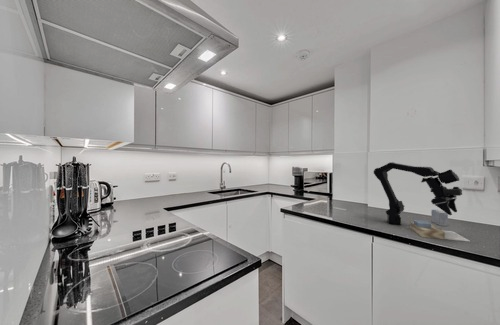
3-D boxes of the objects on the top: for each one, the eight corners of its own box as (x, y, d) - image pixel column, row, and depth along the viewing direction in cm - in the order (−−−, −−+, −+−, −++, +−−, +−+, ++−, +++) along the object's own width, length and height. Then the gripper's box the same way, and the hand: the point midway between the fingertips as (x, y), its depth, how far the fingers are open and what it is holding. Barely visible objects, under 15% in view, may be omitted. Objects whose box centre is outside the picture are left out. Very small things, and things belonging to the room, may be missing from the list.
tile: (418, 227, 111) (418, 223, 110) (413, 223, 116) (413, 219, 116) (431, 228, 108) (431, 224, 108) (425, 224, 114) (425, 220, 114)
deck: (421, 236, 107) (421, 229, 107) (410, 228, 120) (410, 221, 120) (444, 239, 103) (444, 231, 103) (430, 229, 116) (430, 223, 116)
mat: (445, 239, 103) (445, 238, 103) (431, 230, 116) (431, 229, 116) (470, 241, 100) (470, 241, 100) (453, 232, 113) (453, 231, 113)
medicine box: (448, 226, 122) (448, 212, 122) (440, 225, 123) (440, 212, 123) (438, 222, 130) (438, 209, 130) (431, 221, 131) (431, 209, 131)
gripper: (448, 183, 99) (468, 213, 94) (459, 180, 109) (477, 207, 103) (423, 190, 108) (440, 217, 102) (435, 187, 117) (451, 211, 112)
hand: (453, 213), depth 105 cm, fingers open, 9 cm apart
